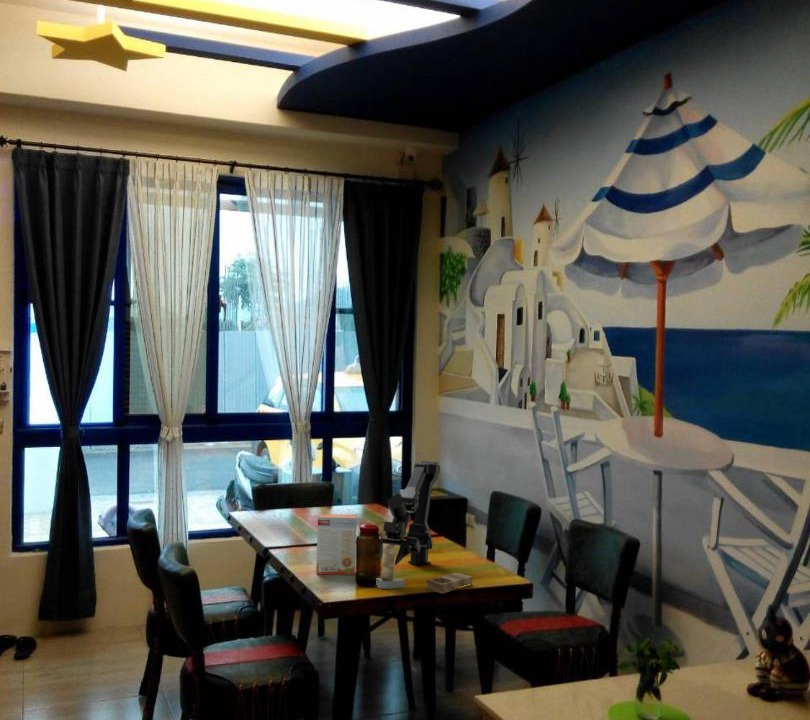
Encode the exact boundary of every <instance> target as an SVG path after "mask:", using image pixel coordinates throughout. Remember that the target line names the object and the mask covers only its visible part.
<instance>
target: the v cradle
mask: <svg viewBox="0 0 810 720" xmlns="http://www.w3.org/2000/svg"><path fill="white" fill-rule="evenodd" d="M405 583H406V580H405V579H404V578H398V579H393V580H385V581H384V580H382V577H379V578H376V585H377V586H376V585H375V586H376V587H377V588H379V589H381V590H382V589H383V590H388V589H389V590H390V589H400V588H401V589H402V588H405V585H406V584H405Z"/></svg>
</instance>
